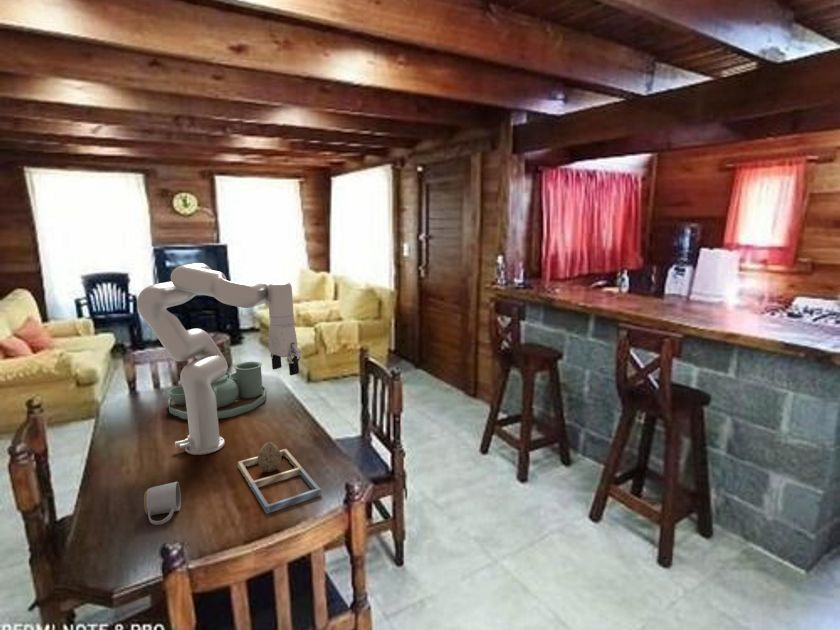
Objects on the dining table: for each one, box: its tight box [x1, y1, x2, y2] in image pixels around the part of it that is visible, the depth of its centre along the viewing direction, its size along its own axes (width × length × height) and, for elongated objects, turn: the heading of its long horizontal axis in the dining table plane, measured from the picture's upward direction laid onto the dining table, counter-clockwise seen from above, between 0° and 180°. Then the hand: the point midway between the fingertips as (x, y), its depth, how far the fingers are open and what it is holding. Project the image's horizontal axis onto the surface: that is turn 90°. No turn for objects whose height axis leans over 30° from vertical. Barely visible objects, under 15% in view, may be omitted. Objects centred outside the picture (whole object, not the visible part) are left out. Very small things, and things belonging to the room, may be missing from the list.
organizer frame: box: [237, 448, 322, 515], centre depth 148 cm, size 16×30×2 cm, turn 34°
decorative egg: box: [257, 441, 282, 473], centre depth 153 cm, size 7×7×10 cm
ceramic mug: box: [143, 481, 182, 526], centre depth 130 cm, size 11×8×8 cm
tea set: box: [167, 360, 267, 420], centre depth 208 cm, size 40×40×16 cm
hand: (285, 371), depth 157 cm, fingers open, 9 cm apart
